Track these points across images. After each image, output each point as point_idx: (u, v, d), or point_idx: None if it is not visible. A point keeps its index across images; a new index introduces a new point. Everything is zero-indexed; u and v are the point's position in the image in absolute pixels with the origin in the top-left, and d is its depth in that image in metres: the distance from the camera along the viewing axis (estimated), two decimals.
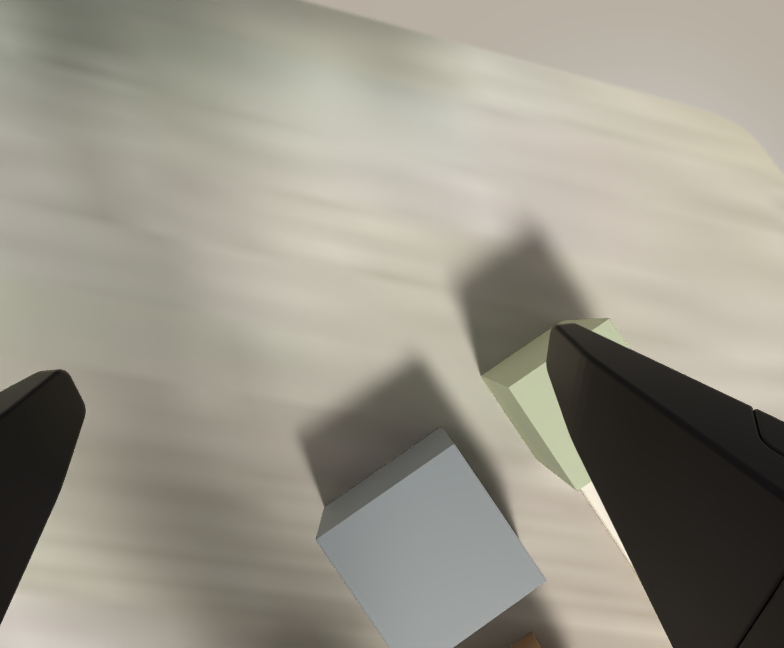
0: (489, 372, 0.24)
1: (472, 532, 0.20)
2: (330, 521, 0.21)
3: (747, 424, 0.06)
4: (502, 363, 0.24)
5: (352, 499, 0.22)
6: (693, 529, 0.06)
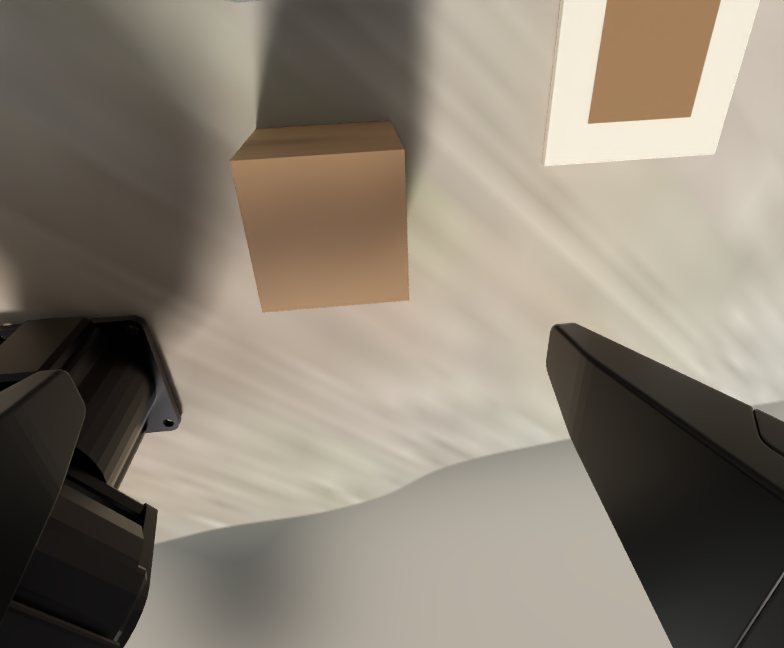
0: None
1: None
2: None
3: (747, 424, 0.06)
4: None
5: None
6: (693, 529, 0.06)
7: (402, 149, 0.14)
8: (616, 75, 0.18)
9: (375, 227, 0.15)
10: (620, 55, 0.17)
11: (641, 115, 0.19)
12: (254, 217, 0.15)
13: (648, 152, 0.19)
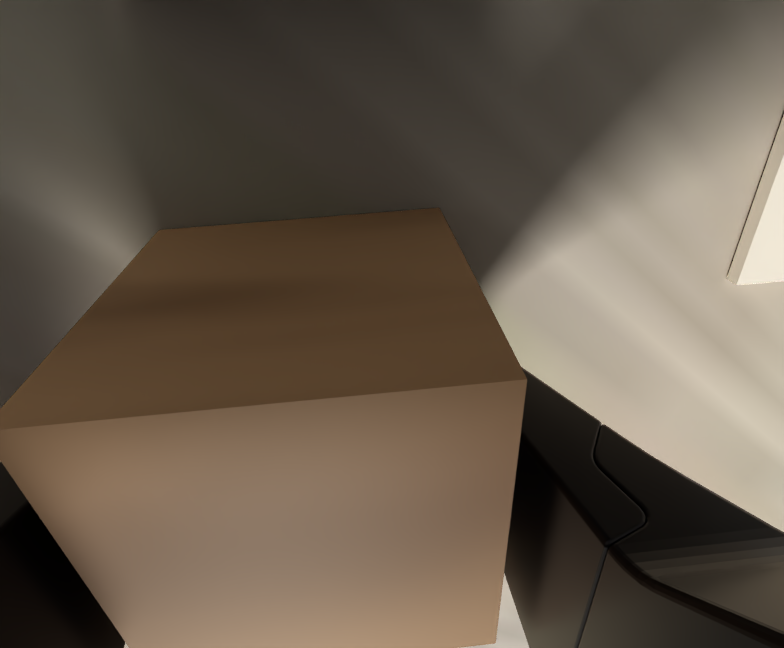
0: None
1: None
2: None
3: (587, 440, 0.06)
4: None
5: None
6: (537, 546, 0.06)
7: (519, 376, 0.05)
8: None
9: (426, 539, 0.06)
10: None
11: None
12: (93, 541, 0.05)
13: None
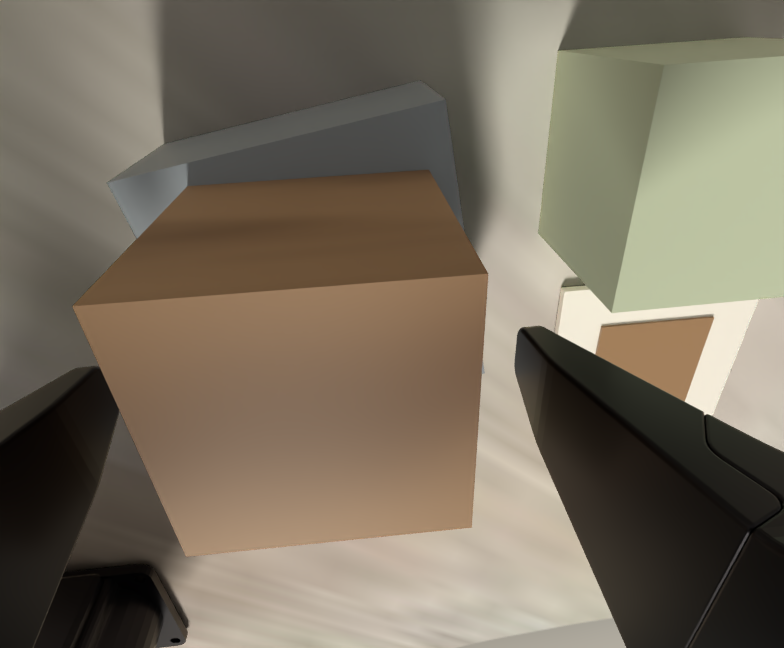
0: (581, 50, 0.12)
1: None
2: (153, 162, 0.11)
3: (696, 429, 0.06)
4: (611, 48, 0.12)
5: (211, 142, 0.11)
6: (643, 535, 0.06)
7: (482, 272, 0.06)
8: None
9: (413, 420, 0.07)
10: (614, 364, 0.18)
11: None
12: (148, 410, 0.07)
13: None
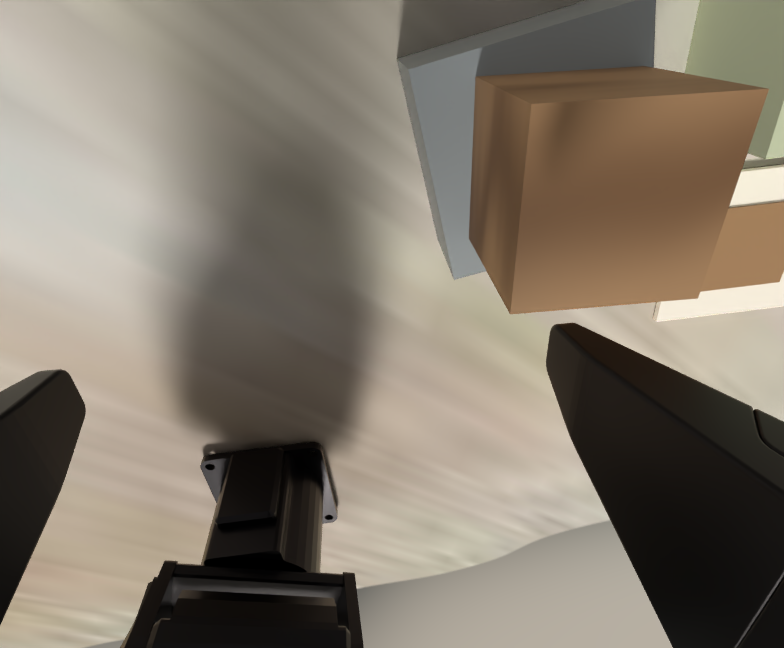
0: None
1: None
2: (425, 59, 0.15)
3: (747, 424, 0.06)
4: None
5: (455, 46, 0.15)
6: (693, 529, 0.06)
7: (764, 89, 0.10)
8: (720, 258, 0.22)
9: (691, 200, 0.11)
10: (724, 245, 0.22)
11: (738, 283, 0.23)
12: (539, 185, 0.11)
13: (742, 306, 0.24)
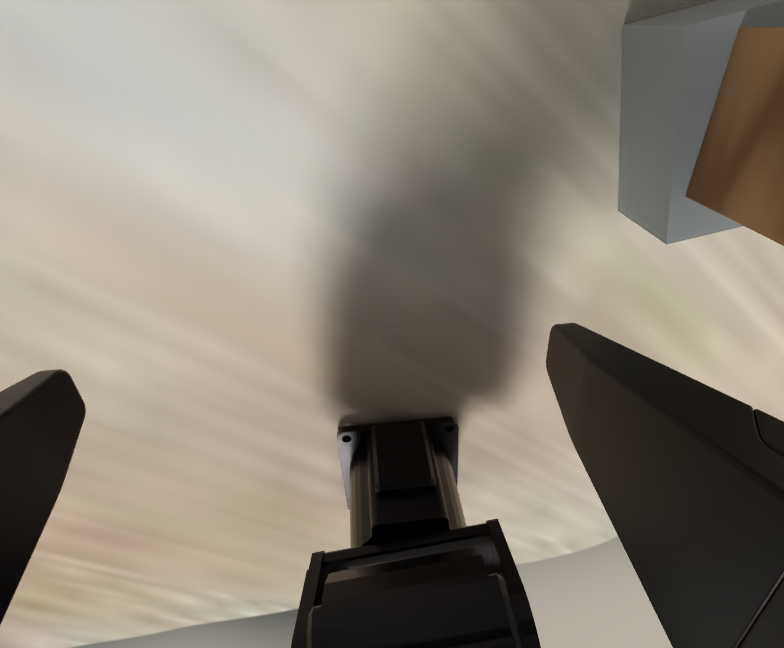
0: None
1: None
2: (686, 19, 0.15)
3: (747, 424, 0.06)
4: None
5: (704, 10, 0.16)
6: (693, 529, 0.06)
7: None
8: None
9: None
10: None
11: None
12: None
13: None
